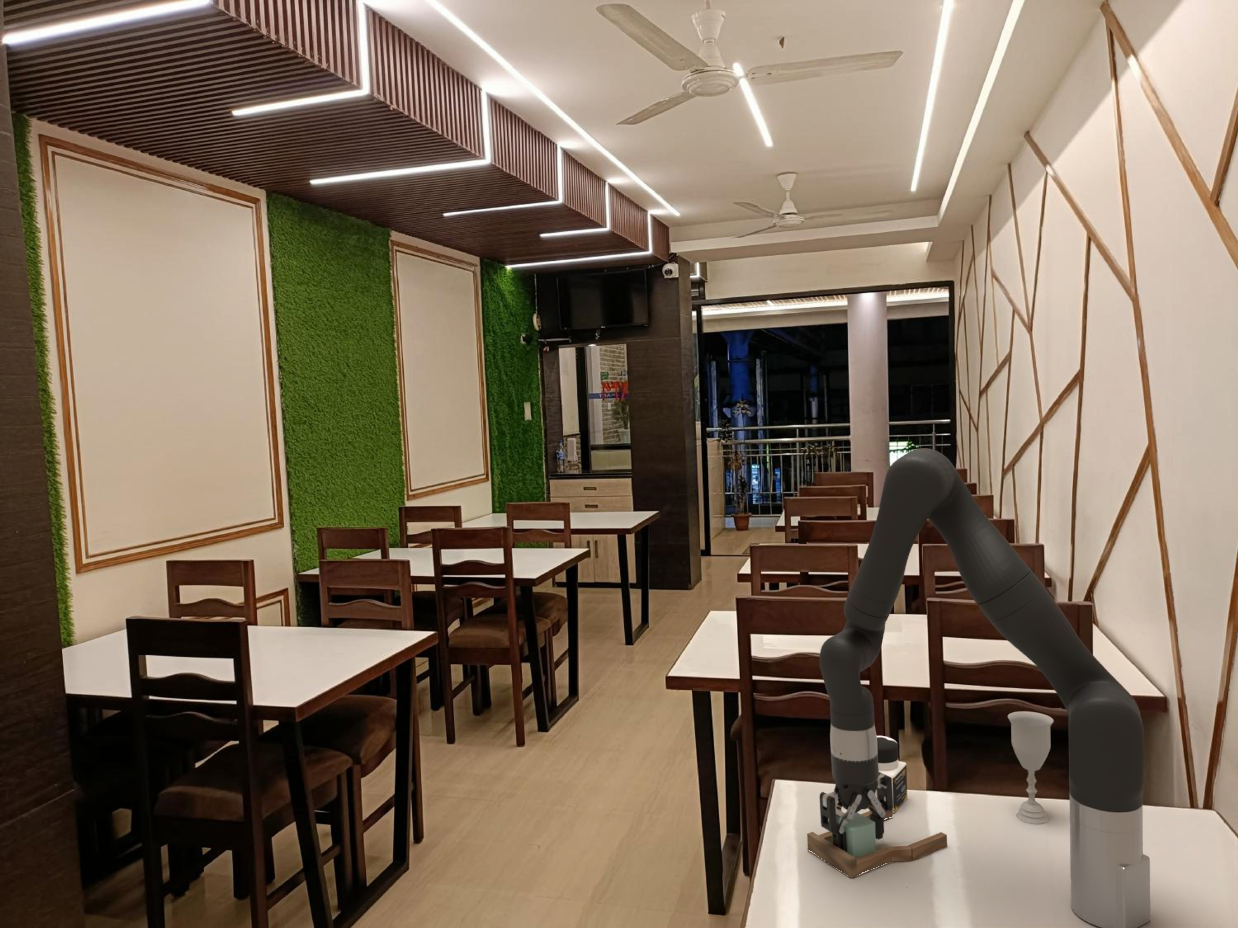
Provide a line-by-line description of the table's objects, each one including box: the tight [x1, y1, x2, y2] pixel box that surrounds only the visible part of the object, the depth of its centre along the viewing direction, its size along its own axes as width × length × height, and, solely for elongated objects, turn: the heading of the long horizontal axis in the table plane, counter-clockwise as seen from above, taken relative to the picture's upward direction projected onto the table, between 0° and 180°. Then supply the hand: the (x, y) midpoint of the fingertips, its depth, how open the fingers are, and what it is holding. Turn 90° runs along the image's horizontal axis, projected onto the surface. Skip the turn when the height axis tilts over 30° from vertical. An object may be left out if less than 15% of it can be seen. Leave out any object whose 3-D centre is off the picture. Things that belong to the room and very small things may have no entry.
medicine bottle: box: [875, 735, 908, 814], centre depth 165 cm, size 7×7×12 cm
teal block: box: [832, 812, 877, 859], centre depth 147 cm, size 5×5×6 cm
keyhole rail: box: [806, 809, 948, 879], centre depth 149 cm, size 13×20×3 cm
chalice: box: [1007, 711, 1054, 825], centre depth 156 cm, size 7×7×18 cm
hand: (859, 844), depth 148 cm, fingers open, 7 cm apart
